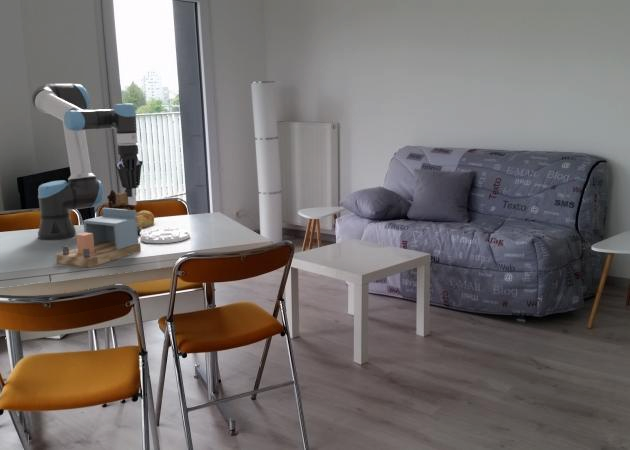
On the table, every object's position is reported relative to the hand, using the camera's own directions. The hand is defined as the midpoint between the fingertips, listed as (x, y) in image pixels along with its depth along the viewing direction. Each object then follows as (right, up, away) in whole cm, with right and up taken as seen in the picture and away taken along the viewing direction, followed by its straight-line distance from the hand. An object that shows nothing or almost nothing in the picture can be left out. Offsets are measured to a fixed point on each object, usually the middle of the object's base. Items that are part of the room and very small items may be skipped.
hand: (132, 204), depth 248 cm
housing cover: (-5, -15, -8) cm, 18 cm away
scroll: (-10, -13, +23) cm, 28 cm away
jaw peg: (-11, -21, -19) cm, 30 cm away
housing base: (-8, -20, -13) cm, 25 cm away
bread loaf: (-8, -8, +46) cm, 47 cm away
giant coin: (+9, -14, +16) cm, 23 cm away
